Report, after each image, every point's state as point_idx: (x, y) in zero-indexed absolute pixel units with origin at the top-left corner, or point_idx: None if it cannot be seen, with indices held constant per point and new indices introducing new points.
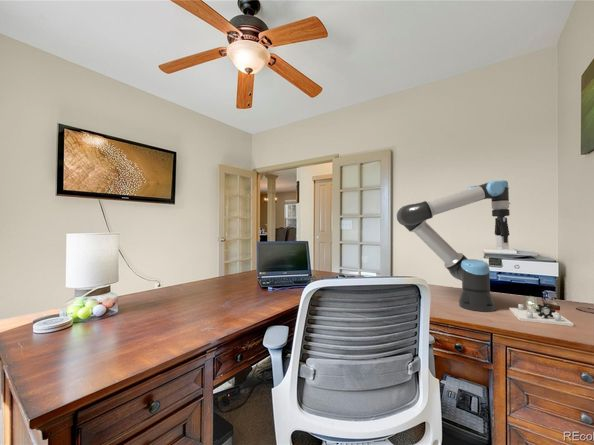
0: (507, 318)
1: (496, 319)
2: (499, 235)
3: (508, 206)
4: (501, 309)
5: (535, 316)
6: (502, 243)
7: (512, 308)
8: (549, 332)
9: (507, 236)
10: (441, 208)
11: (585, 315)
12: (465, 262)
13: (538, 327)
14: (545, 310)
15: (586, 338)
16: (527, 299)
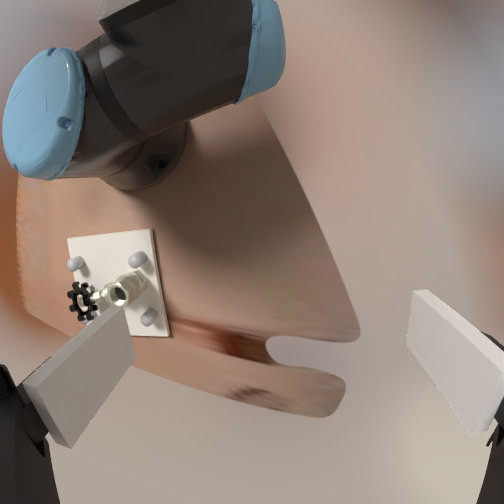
0: (71, 213)
1: (55, 189)
2: (496, 411)
3: None
4: (144, 206)
5: (96, 276)
6: (78, 337)
7: (143, 236)
8: (36, 274)
9: (58, 440)
10: None
11: (195, 385)
12: (18, 77)
13: (49, 264)
14: (79, 301)
15: (43, 319)
16: (114, 282)
